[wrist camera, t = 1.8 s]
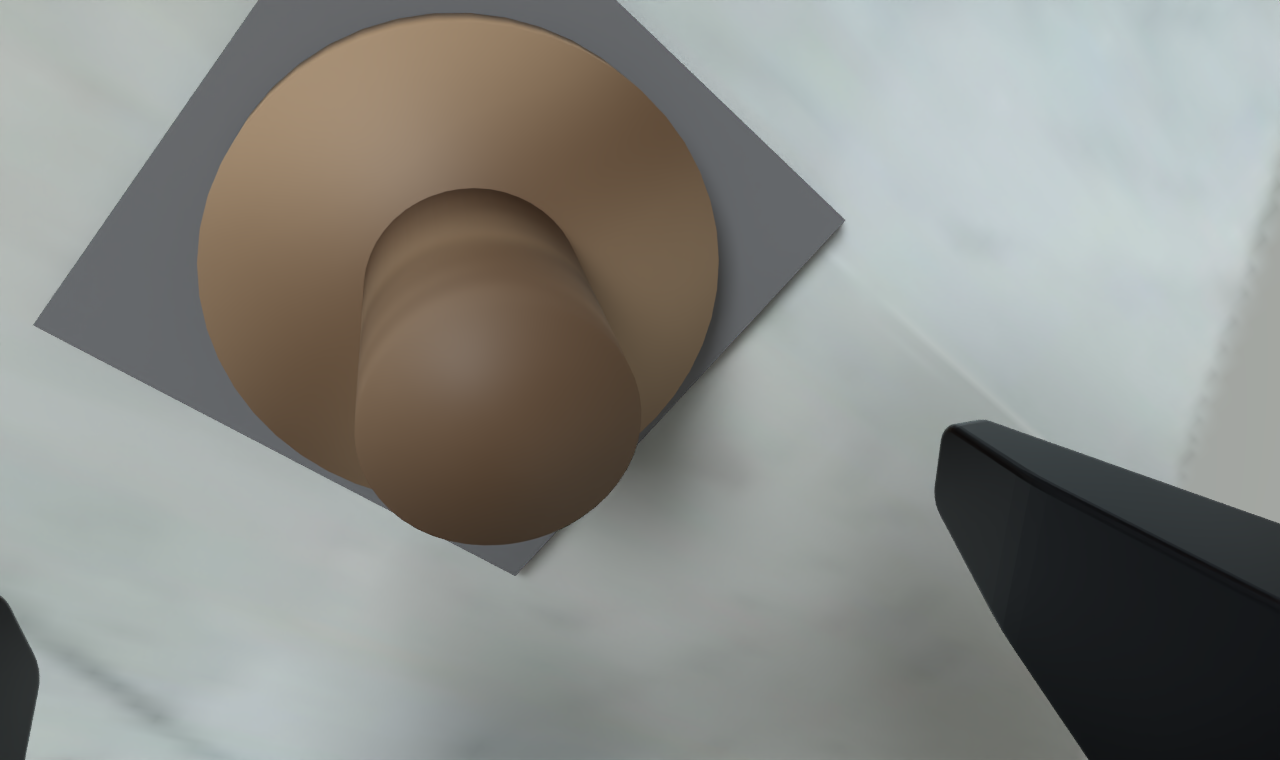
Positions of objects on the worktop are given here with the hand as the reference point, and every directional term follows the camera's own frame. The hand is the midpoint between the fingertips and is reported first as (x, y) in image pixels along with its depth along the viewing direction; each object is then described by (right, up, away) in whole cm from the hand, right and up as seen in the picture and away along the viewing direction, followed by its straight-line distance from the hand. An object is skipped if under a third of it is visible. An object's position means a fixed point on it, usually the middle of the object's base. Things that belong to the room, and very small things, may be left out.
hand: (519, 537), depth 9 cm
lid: (-2, +3, +6) cm, 7 cm away
